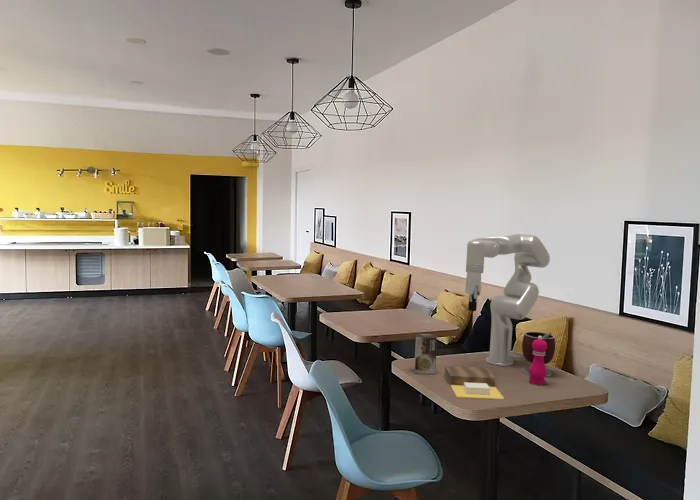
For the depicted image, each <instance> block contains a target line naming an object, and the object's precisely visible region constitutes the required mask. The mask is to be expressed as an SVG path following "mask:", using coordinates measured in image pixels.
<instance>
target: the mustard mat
mask: <svg viewBox="0 0 700 500" xmlns="http://www.w3.org/2000/svg"><path fill="white" fill-rule="evenodd" d="M449 387H450V389H452V392H453V393H454V395H455V397H456V398H457V399H458V398H459V399H475V400H476V399H479V400H480V399H481V400H501V401H502V400H506V399H505V397H504V395H502V393H501V392H500V391H499V389H498V388H497V387H496V386H495V387H491V386H489V387H490V395H485V394H466V392H465V390H464V389H463V388H464V385H450V384H449Z"/></svg>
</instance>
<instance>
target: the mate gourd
mask: <svg viewBox="0 0 700 500" xmlns="http://www.w3.org/2000/svg"><path fill="white" fill-rule="evenodd" d="M538 336H542V340H544V341H545V342H546V343H547V349H546V350H545V352H546V353H545V355H544V365H547V364H549V363H550V362H551V361H552V360H553V359H554V357H555V354H556V353H555V352H556V337H555V335H553V334H552V332H548V333H547V332H540V331H526V332H524V334H523V337H522V342H521V343H522V344H521V350H522V355H523V357H524V359H525V360H526V361H527V362H529V363H531V364H532V363H533V360H534V354H533V350H534V349H533V347H532V343H533V341H534V340H536V339H538ZM529 368H530V366H529V367H523V368H522V369H521V370H522V373H524V374H526V375H528V376H530V374H529ZM546 370H547V375H546V377H545V378H548V377H551V376H552V372H551V371H550V370H548V369H546Z"/></svg>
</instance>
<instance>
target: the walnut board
mask: <svg viewBox="0 0 700 500" xmlns="http://www.w3.org/2000/svg"><path fill="white" fill-rule="evenodd" d="M444 377H445V379H446V380H447V382H448V384H449V386H450V385H464V382H467V383H487V385H488V386H491V387H496V376H494V374H493V373H492V372H491V371H490V370H489V368H487V367H477V366H476V367H475V366H472V367H471V366H452V365H445V366H444Z"/></svg>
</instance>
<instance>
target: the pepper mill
mask: <svg viewBox="0 0 700 500" xmlns="http://www.w3.org/2000/svg"><path fill="white" fill-rule="evenodd" d="M532 347H533V349H534V350H533V354H534V360H533V363H531V365H530V366H529V367H530V368H529V374H530V375H529V379H528V381H529V383H530V384H532V385H536V386H538V385H539V386H543V385H546V379H545V378H547V377H546V375H547V370H548V369H547V368H546V364H544V355H545V353H546V352H545V350H546V349H547V343H546V342H545V341H544V340H542V336H538V339H536V340H534V341H533V343H532Z"/></svg>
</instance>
